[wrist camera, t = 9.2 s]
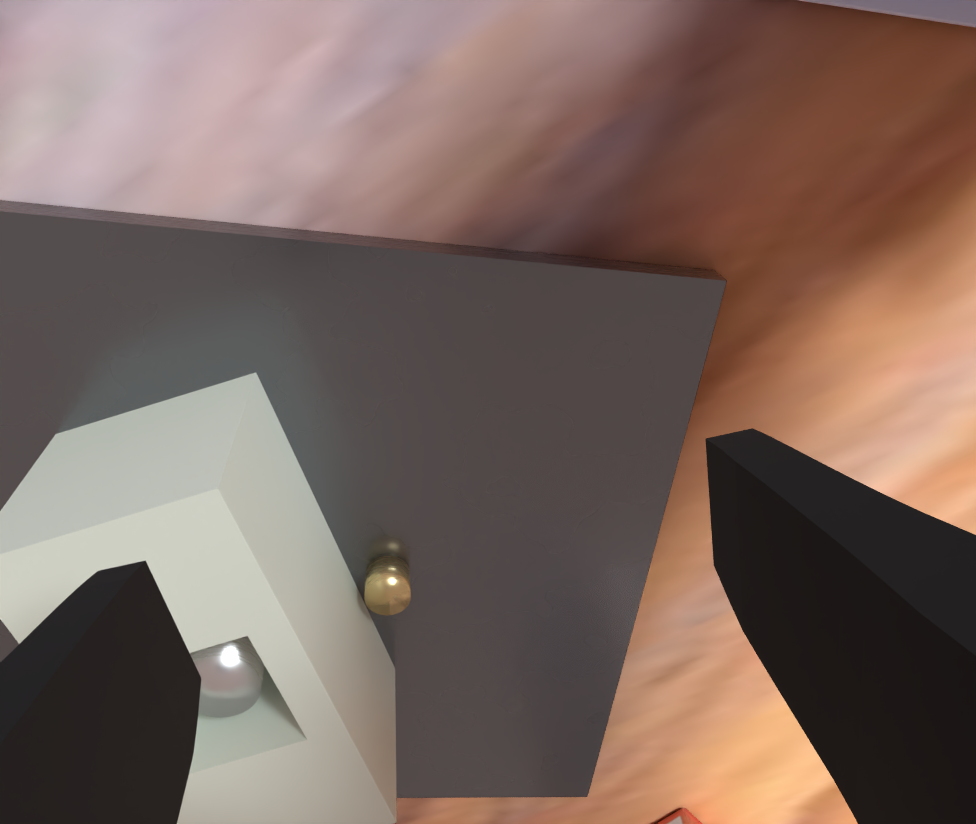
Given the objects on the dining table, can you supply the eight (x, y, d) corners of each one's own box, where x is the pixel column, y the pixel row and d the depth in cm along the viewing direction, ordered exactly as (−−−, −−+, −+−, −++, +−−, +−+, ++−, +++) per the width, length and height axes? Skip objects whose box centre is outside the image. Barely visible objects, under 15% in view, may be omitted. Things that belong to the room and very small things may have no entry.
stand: (714, 270, 20) (804, 351, 16) (582, 776, 28) (617, 923, 24) (-303, 170, 17) (-543, 239, 13) (-126, 777, 25) (-235, 947, 21)
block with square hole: (395, 668, 24) (396, 822, 20) (232, 716, 24) (198, 879, 20) (255, 372, 20) (218, 488, 15) (55, 434, 20) (-40, 566, 15)
